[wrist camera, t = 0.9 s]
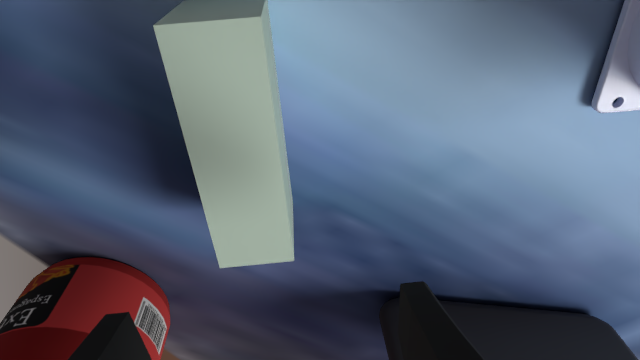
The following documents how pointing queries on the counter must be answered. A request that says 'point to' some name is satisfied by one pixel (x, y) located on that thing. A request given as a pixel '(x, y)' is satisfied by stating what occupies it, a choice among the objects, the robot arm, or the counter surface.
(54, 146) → the counter surface
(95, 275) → the canned food
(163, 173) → the counter surface
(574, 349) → the leaning round-cornered charcoal block
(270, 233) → the pale green rectangular box
